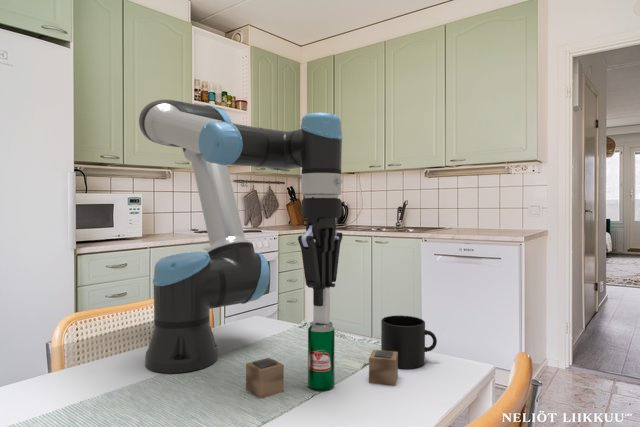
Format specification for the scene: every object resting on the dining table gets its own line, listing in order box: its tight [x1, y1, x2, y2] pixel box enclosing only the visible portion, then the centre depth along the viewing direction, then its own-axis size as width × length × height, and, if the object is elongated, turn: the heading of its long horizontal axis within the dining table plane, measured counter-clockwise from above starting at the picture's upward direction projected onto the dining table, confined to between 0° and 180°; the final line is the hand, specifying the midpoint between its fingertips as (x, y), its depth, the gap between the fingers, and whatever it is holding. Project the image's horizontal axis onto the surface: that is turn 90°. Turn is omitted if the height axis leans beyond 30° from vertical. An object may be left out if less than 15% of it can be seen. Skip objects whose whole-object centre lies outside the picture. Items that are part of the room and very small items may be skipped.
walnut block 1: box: [245, 357, 285, 399], centre depth 81 cm, size 5×5×5 cm
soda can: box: [307, 321, 336, 392], centre depth 83 cm, size 5×5×12 cm
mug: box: [380, 314, 438, 370], centre depth 96 cm, size 9×12×9 cm
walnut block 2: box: [368, 349, 399, 387], centre depth 86 cm, size 5×5×5 cm
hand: (321, 321), depth 83 cm, fingers closed
